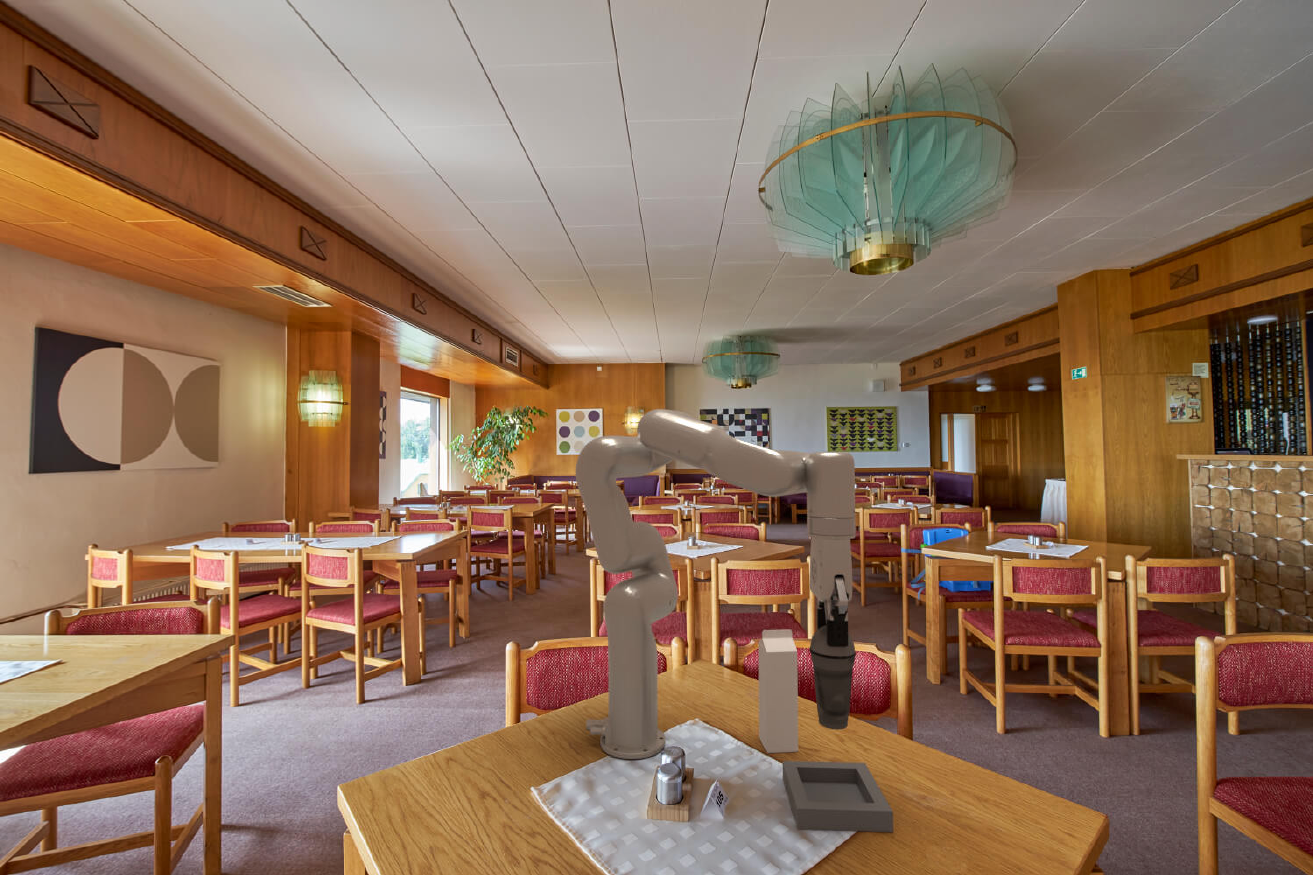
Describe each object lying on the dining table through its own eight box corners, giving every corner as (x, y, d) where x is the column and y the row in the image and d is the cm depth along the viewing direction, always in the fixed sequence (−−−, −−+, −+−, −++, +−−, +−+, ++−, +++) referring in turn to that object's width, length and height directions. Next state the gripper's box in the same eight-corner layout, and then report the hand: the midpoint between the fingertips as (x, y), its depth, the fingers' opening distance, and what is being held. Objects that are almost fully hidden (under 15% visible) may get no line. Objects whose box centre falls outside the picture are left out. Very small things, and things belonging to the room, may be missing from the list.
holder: (797, 828, 89) (797, 808, 89) (782, 778, 103) (782, 760, 103) (893, 832, 88) (892, 811, 88) (865, 780, 102) (864, 762, 102)
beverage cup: (847, 738, 91) (846, 606, 92) (802, 724, 95) (801, 599, 96) (863, 721, 97) (861, 596, 97) (820, 709, 101) (819, 590, 102)
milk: (798, 752, 112) (798, 634, 113) (766, 753, 112) (766, 635, 112) (788, 736, 118) (787, 624, 119) (758, 738, 118) (758, 625, 118)
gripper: (798, 521, 106) (799, 624, 105) (819, 534, 89) (820, 656, 88) (841, 521, 105) (842, 624, 105) (870, 534, 88) (872, 657, 88)
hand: (832, 638), depth 96 cm, fingers closed on beverage cup, 6 cm apart
